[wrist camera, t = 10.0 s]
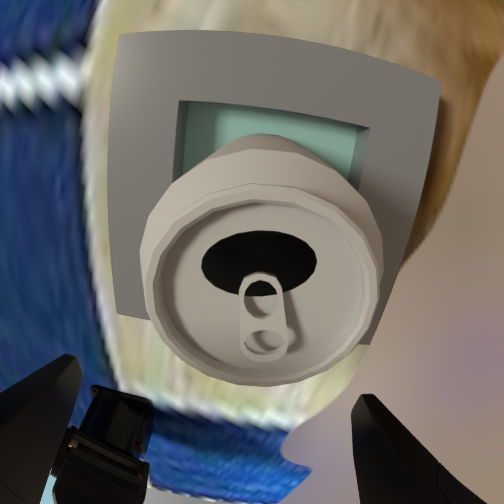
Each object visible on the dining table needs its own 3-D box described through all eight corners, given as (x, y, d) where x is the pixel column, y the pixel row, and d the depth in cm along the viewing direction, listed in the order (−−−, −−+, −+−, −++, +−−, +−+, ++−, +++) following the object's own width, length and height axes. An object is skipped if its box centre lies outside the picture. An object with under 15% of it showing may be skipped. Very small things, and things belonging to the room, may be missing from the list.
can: (321, 129, 17) (420, 154, 6) (324, 247, 20) (380, 392, 9) (194, 139, 17) (86, 179, 6) (209, 254, 20) (158, 402, 9)
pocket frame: (129, 294, 22) (117, 313, 20) (136, 42, 15) (119, 34, 12) (361, 323, 22) (369, 344, 20) (421, 83, 15) (441, 81, 13)
